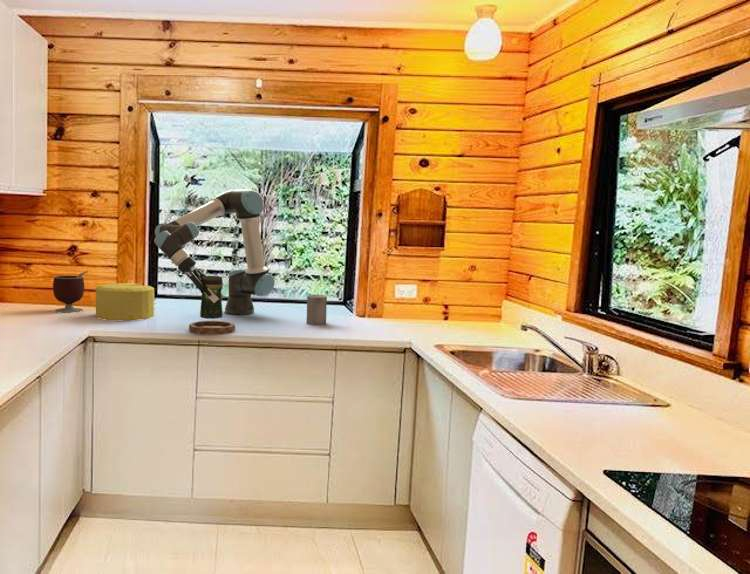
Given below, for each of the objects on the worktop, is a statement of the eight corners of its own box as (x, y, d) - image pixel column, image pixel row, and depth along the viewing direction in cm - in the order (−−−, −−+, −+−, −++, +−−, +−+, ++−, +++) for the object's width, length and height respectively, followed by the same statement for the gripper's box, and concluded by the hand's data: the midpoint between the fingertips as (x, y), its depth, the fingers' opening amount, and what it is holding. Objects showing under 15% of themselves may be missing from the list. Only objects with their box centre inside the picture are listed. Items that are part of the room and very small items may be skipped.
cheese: (161, 313, 303) (161, 284, 302) (143, 322, 277) (143, 290, 276) (109, 311, 302) (109, 281, 301) (85, 319, 276) (85, 287, 275)
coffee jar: (223, 316, 268) (224, 275, 266) (221, 319, 261) (222, 277, 259) (201, 315, 267) (201, 274, 265) (198, 318, 259) (199, 276, 257)
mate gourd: (53, 313, 288) (53, 272, 286) (52, 309, 300) (52, 269, 298) (89, 312, 296) (89, 272, 294) (86, 308, 308) (86, 269, 306)
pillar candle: (311, 320, 301) (312, 291, 299) (329, 322, 297) (330, 292, 296) (302, 324, 292) (303, 293, 290) (321, 325, 288) (321, 295, 287)
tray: (228, 325, 278) (228, 320, 277) (239, 333, 261) (239, 327, 261) (185, 327, 269) (185, 321, 268) (194, 335, 252) (194, 329, 252)
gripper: (185, 265, 272) (220, 302, 274) (168, 268, 252) (205, 308, 253) (197, 254, 272) (231, 291, 273) (181, 257, 251) (218, 297, 252)
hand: (219, 299), depth 263 cm, fingers closed on coffee jar, 8 cm apart
